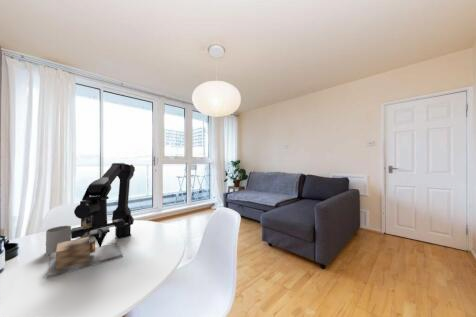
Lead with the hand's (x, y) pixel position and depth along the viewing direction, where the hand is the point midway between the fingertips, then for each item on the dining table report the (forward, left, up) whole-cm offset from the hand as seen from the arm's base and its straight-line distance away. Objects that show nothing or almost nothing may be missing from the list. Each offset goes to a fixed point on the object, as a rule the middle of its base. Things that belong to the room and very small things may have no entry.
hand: (99, 247), depth 83 cm
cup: (+14, -18, -4) cm, 23 cm away
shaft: (+9, 0, -2) cm, 9 cm away
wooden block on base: (+4, 0, -4) cm, 6 cm away
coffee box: (+1, -31, -4) cm, 31 cm away
